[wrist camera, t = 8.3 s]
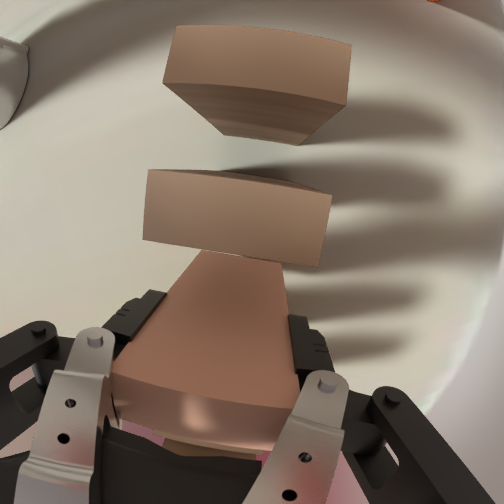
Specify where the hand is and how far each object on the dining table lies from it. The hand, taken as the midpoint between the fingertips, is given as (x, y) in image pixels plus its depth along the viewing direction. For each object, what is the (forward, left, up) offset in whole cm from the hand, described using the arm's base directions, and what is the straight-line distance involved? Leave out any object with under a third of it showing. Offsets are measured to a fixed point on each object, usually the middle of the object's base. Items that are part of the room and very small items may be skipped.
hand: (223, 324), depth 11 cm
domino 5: (-9, 0, -9) cm, 13 cm away
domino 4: (-5, 0, -9) cm, 11 cm away
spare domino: (0, 0, -7) cm, 7 cm away
